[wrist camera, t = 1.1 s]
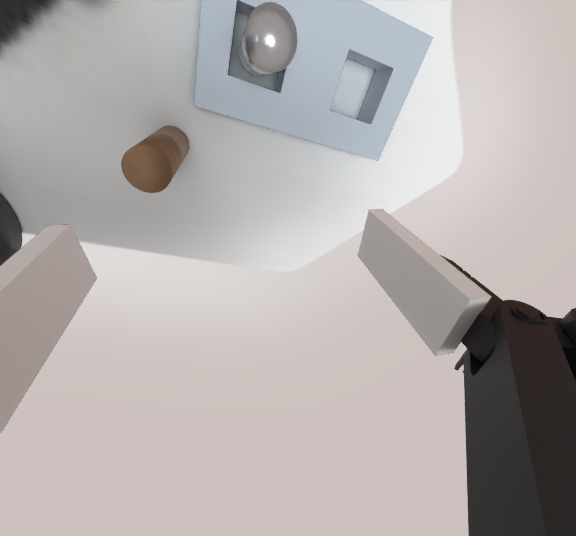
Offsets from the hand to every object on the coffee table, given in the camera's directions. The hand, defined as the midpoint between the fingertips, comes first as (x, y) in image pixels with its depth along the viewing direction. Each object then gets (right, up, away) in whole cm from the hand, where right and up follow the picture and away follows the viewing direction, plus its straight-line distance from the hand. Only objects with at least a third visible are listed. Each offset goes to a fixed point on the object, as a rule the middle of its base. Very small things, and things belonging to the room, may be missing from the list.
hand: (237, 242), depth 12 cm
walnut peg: (-9, +11, +13) cm, 19 cm away
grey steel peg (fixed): (0, +18, +10) cm, 20 cm away
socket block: (+4, +17, +12) cm, 21 cm away
